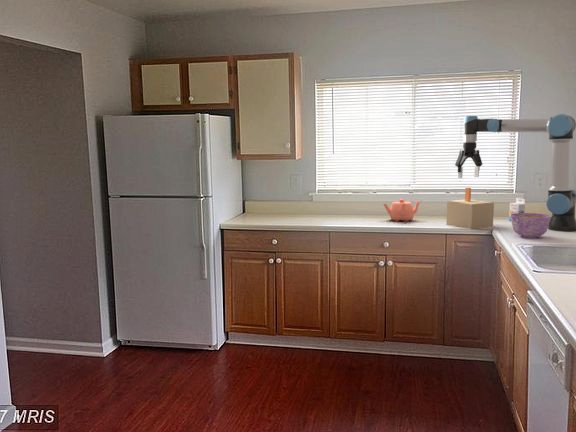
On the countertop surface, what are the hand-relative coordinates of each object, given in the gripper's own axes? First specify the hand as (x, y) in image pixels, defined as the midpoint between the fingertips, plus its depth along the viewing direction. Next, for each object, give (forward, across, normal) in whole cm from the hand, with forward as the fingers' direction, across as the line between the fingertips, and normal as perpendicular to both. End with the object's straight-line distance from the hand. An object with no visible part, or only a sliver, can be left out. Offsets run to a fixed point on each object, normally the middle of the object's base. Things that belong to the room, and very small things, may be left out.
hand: (468, 177), depth 327 cm
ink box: (+29, -37, +6) cm, 48 cm away
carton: (+29, 0, +2) cm, 29 cm away
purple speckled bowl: (+29, +3, +47) cm, 55 cm away
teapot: (+29, +21, -35) cm, 50 cm away
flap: (+15, 0, -3) cm, 15 cm away
